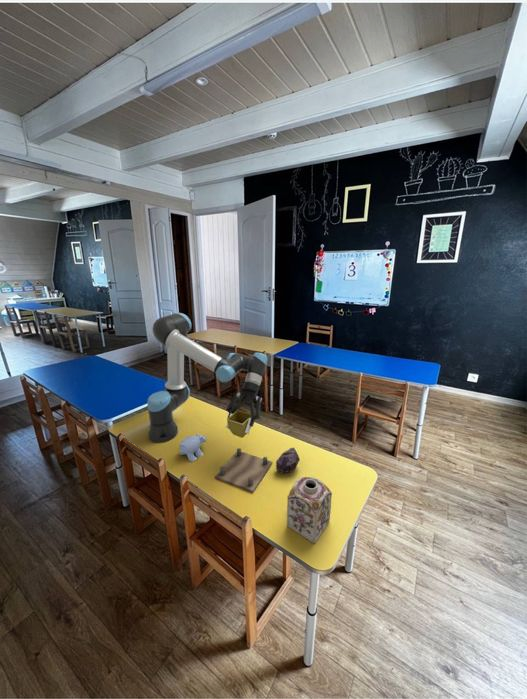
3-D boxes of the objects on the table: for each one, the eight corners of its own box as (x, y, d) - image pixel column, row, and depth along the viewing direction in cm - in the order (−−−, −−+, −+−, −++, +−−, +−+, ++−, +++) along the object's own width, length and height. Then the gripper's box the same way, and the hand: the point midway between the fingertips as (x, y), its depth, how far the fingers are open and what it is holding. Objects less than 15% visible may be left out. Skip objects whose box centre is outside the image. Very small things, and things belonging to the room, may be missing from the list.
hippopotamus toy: (212, 449, 142) (211, 432, 139) (188, 465, 131) (186, 448, 128) (199, 440, 149) (197, 425, 146) (174, 455, 138) (172, 439, 135)
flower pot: (243, 442, 124) (242, 424, 121) (227, 436, 128) (226, 419, 125) (254, 431, 131) (253, 414, 128) (238, 426, 135) (237, 410, 132)
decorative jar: (330, 521, 103) (334, 481, 97) (315, 545, 94) (318, 503, 88) (302, 504, 110) (303, 466, 104) (285, 525, 101) (286, 485, 95)
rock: (273, 471, 128) (291, 482, 122) (271, 457, 125) (289, 467, 118) (289, 455, 136) (306, 464, 130) (287, 441, 133) (305, 450, 126)
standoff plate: (214, 478, 123) (214, 470, 122) (237, 452, 139) (237, 445, 138) (253, 493, 115) (252, 484, 114) (272, 463, 131) (272, 456, 130)
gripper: (275, 390, 133) (261, 438, 124) (235, 383, 141) (220, 427, 133) (270, 384, 126) (256, 434, 118) (229, 377, 135) (212, 423, 127)
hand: (237, 430), depth 125 cm, fingers closed on flower pot, 9 cm apart
